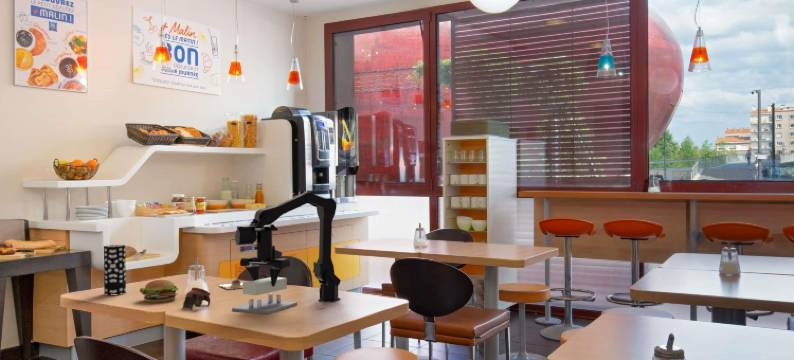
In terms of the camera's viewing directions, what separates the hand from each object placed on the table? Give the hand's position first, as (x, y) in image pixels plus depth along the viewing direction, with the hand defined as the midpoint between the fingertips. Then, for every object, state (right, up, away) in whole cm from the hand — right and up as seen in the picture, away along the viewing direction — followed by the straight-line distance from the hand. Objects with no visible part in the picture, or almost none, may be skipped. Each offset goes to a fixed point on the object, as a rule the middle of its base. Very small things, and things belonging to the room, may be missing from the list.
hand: (265, 285), depth 246 cm
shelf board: (0, -2, 0) cm, 2 cm away
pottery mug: (-26, -9, +3) cm, 27 cm away
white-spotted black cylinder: (-69, -9, +34) cm, 78 cm away
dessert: (-22, -9, +48) cm, 53 cm away
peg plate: (0, -8, 0) cm, 8 cm away
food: (-45, -9, +18) cm, 50 cm away
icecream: (-8, -8, +39) cm, 40 cm away
